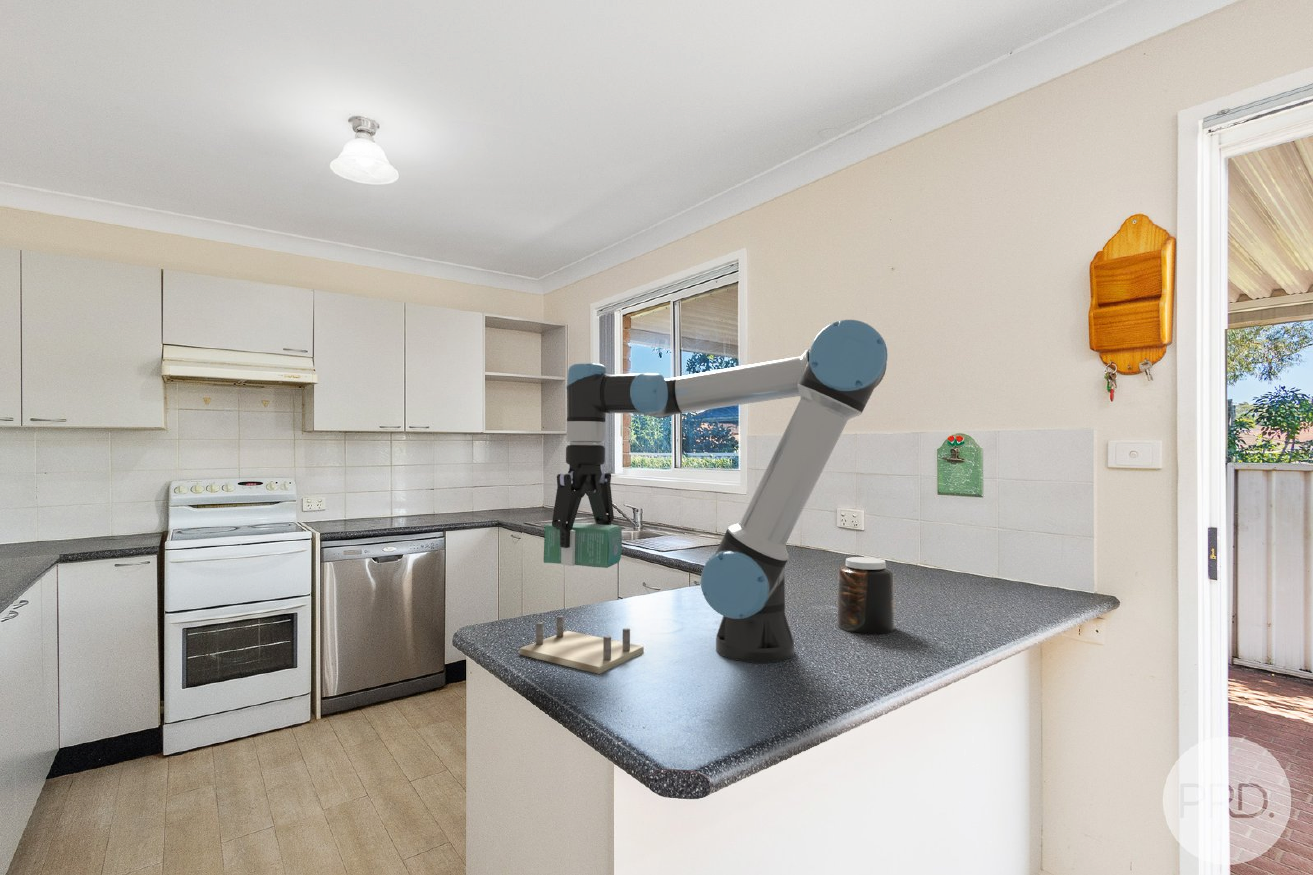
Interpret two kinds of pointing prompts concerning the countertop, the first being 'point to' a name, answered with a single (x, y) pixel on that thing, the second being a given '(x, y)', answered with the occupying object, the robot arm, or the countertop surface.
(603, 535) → the box
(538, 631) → the tray
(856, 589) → the jar
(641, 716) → the countertop surface
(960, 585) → the countertop surface
